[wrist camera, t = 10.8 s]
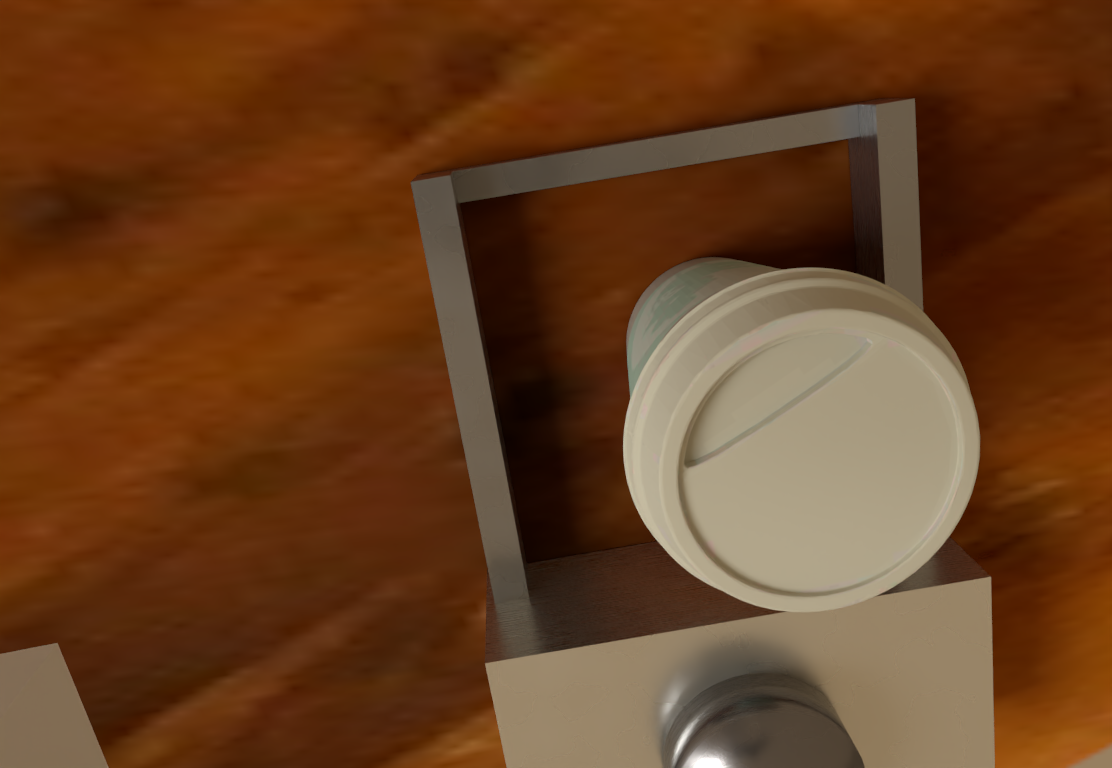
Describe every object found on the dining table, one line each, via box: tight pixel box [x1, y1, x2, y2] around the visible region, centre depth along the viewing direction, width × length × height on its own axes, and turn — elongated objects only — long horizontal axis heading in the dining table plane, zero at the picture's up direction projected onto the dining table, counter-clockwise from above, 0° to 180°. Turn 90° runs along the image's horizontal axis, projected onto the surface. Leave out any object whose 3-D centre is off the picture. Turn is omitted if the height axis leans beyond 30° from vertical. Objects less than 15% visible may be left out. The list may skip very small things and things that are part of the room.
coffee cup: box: [623, 257, 980, 612], centre depth 27 cm, size 8×9×12 cm
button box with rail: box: [411, 98, 995, 768], centre depth 30 cm, size 24×16×8 cm, turn 9°
